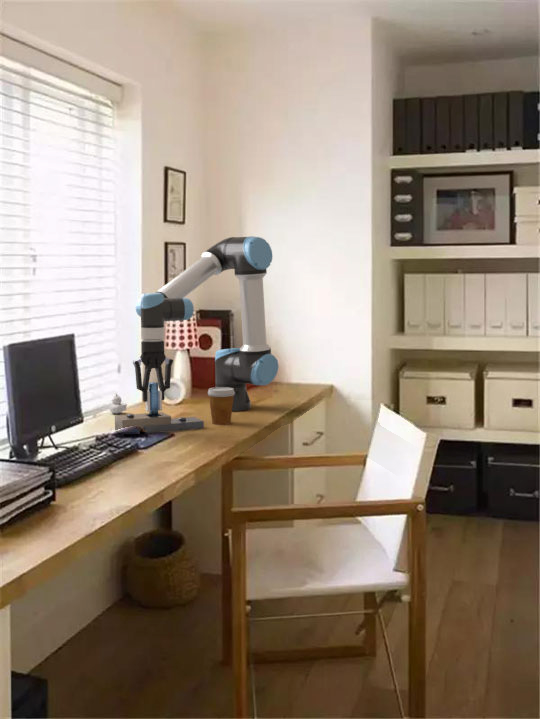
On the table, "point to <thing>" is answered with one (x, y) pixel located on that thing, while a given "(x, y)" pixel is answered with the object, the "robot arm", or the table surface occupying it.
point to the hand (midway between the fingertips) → (153, 410)
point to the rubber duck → (117, 405)
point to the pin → (153, 399)
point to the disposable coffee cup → (221, 404)
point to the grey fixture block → (158, 422)
